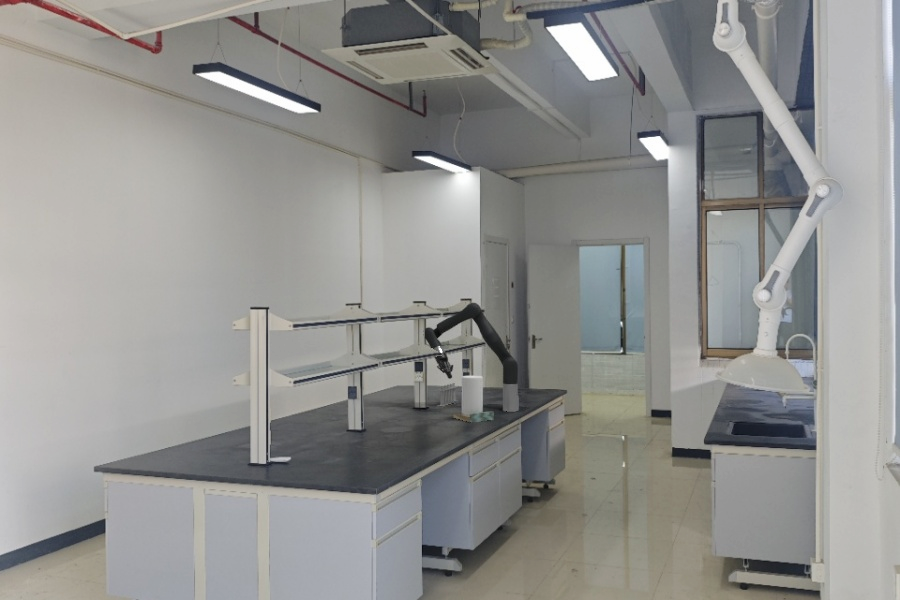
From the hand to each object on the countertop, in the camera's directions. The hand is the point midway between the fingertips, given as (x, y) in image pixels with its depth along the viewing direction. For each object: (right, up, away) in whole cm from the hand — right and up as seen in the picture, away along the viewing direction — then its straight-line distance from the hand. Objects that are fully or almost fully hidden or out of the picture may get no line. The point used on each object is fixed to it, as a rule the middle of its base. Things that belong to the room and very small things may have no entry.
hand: (450, 377), depth 480 cm
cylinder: (+13, -22, -20) cm, 33 cm away
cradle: (+13, -22, -21) cm, 33 cm away
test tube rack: (-2, -22, +38) cm, 43 cm away
